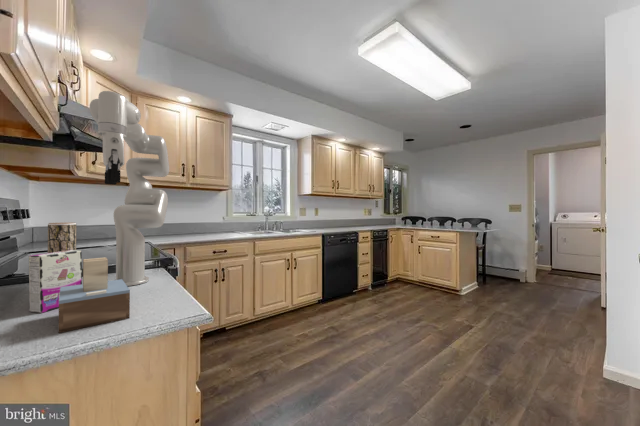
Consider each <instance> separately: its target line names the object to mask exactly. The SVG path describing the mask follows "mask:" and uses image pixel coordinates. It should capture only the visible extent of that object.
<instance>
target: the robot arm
mask: <svg viewBox="0 0 640 426" xmlns="http://www.w3.org/2000/svg"><path fill="white" fill-rule="evenodd" d="M88 107H89V112H90V115H91V116H92V119H93V120H94V122H95V123H96V124H97V125H98V126H97V135H99V136H101V137H102V159H103V162H102V163H103V166H104V167H105V170H104V171H105V172H104V184H105V185H111V186H112V185H117V183H118V184H119V183H121V167H123V166H124V165H125V171H126V177H127V180H128V182H129V187H128V190H127V192H126V194H125V197H124V204H122V205H119V206H117V207H116V208H115V209H114V210H113V221H114V226H115V234H116V235H115V238H116V239H115V242H116V245H115V247H116V249H115V251H116V252H115V254H116V255H115V256H116V257H115V278H114V280H120V279H122V280H123V281H124V282H125V284H126V285H127V287H129V286H130V287H131V286H137V285H143V284H145V283H147V282H149V280H150V278H149V276H145V273H146V272H145V266H146V265H145V264H146V263H145V259H146V256H145V253H146V250H145V249H146V239H145V236H144V235H143V234H142V232H141V231H140V230H139V229H156V228H157V229H158V228H161V227H162V226H164V223H165V220H166V214H167V210H168V205H169V204H168V203H169V199H168V198H169V197H168V194H167V192H166V191H165V190H163V189H157V188H153V185H152V184H151V182H150V181H149V180H148V179H147V178H146V177H156V178H157V177H158V178H164V177H167V176H168V175H169V174H170V163H169V155H168V154H169V153H168V146H167V143H166V140H165V138H164V137H163V136H160V135H153V134H152V135H151V134H147V133H146V130H145V129H144V127H143V126H142V125H141V124H140V123H139V122H140V121H141V119H142V114H141V111H140V109H139V108H138V107H137V106H136V105H135V104H134V103H132V102H131V101H129V100H127V98H126V97H125V96H124V95H123V94H120V93H119V92H115V91H109V90H102V91H100V92H99V93H98V98H94V99H92V100H91V101H90V103H89V106H88ZM124 142H125V143H124ZM125 144H126V145H127V146H128V147H129V149H130V150H131V151H132V152H134V153H135V154H136V153H137V154H142V155H143V154H145V155H155V156H156V155H157V156H158V158H151V157H132V158H129V159H127V161H126V163H125Z"/></svg>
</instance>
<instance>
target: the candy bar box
mask: <svg viewBox="0 0 640 426" xmlns="http://www.w3.org/2000/svg"><path fill="white" fill-rule="evenodd" d="M82 255H83V253H82V250H77V249H76V250H68V251H60V252H53V253H48V252H47V253H39V254H32V255H28V280H29V283H28V289H29V290H28V291H29V292H28V293H29V294H28V295H29V299H28V300H29V312H31V313H37V314H38V313H39V314H43V313H46V312H51V311H53V310H56V309H59V296H60V288H61V287H66V286H73V285H81V284H83V264H82V263H83V259H82Z"/></svg>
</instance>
